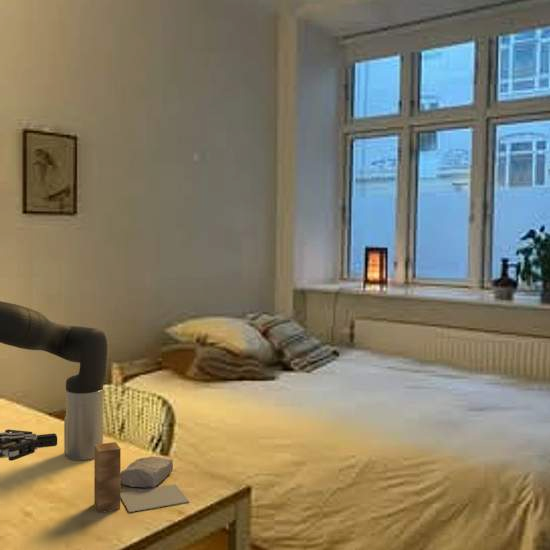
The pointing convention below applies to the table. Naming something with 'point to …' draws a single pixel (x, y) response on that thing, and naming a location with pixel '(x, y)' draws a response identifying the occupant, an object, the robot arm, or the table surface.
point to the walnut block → (107, 477)
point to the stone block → (146, 472)
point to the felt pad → (153, 498)
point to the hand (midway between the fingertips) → (56, 439)
